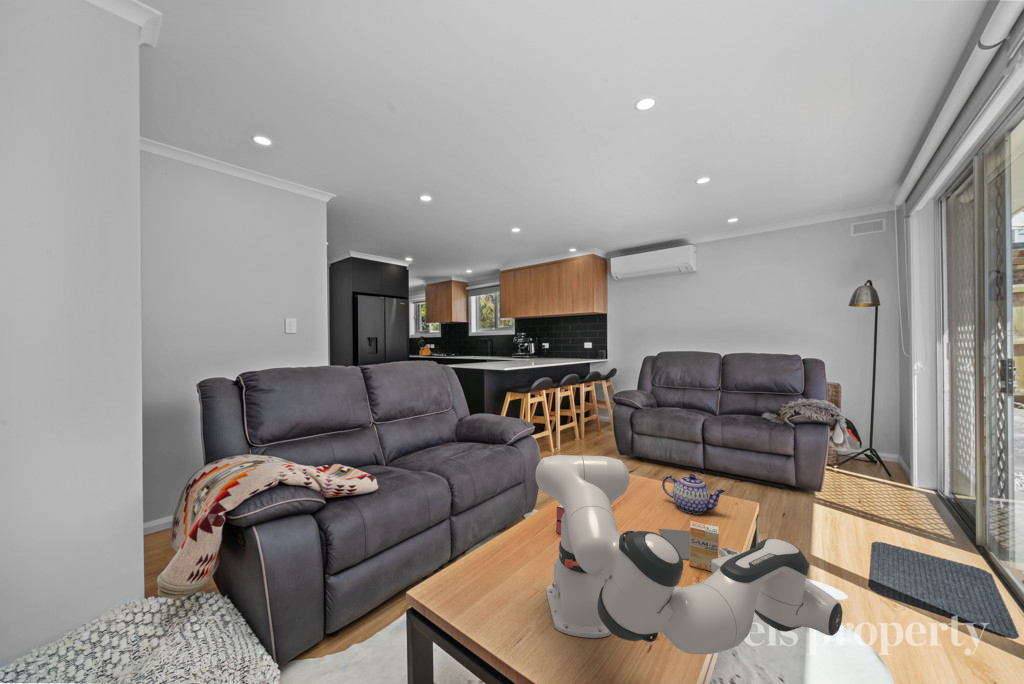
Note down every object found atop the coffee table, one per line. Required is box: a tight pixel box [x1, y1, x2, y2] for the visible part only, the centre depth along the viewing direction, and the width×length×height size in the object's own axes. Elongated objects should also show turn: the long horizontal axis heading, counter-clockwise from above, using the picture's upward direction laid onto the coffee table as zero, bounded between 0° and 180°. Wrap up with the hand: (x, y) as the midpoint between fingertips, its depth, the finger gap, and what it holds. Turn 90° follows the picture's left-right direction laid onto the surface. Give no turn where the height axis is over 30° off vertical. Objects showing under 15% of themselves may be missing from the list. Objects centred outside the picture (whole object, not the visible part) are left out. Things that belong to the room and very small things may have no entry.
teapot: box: [661, 473, 726, 515], centre depth 164 cm, size 25×15×15 cm, turn 46°
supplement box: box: [688, 520, 720, 573], centre depth 122 cm, size 8×5×13 cm, turn 62°
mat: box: [658, 528, 690, 561], centre depth 135 cm, size 20×14×1 cm
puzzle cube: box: [555, 504, 565, 535], centre depth 143 cm, size 10×10×10 cm
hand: (722, 550), depth 112 cm, fingers closed
